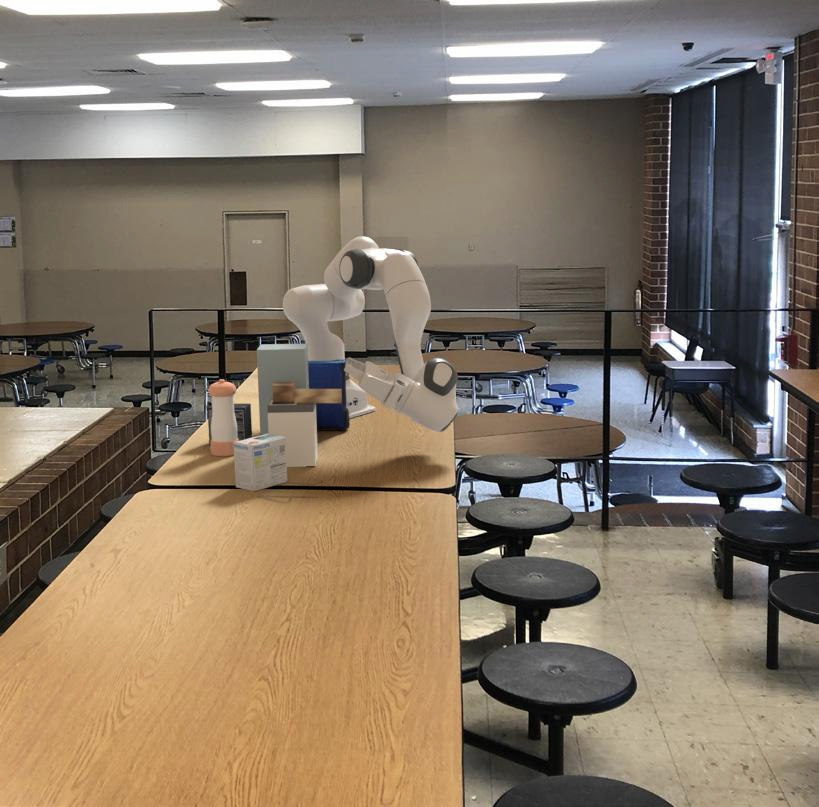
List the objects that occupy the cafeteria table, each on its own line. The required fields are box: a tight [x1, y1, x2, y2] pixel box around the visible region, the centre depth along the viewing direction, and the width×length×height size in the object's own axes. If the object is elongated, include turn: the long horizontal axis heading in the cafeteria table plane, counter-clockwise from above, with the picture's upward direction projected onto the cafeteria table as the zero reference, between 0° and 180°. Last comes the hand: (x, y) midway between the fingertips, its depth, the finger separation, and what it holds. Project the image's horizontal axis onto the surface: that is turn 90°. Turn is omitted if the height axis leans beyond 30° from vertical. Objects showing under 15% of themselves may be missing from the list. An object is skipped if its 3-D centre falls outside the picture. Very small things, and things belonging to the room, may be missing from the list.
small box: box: [206, 403, 253, 447], centre depth 297 cm, size 11×6×10 cm, turn 84°
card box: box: [267, 399, 319, 468], centre depth 274 cm, size 11×10×15 cm
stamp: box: [273, 382, 342, 404], centre depth 272 cm, size 16×5×4 cm, turn 91°
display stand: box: [256, 343, 309, 436], centre depth 286 cm, size 13×11×27 cm
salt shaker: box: [207, 378, 239, 457], centre depth 285 cm, size 7×7×19 cm
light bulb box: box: [233, 434, 288, 492], centre depth 254 cm, size 11×7×11 cm, turn 141°
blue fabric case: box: [308, 359, 351, 431], centre depth 310 cm, size 14×5×20 cm, turn 84°
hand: (346, 363), depth 272 cm, fingers open, 8 cm apart
